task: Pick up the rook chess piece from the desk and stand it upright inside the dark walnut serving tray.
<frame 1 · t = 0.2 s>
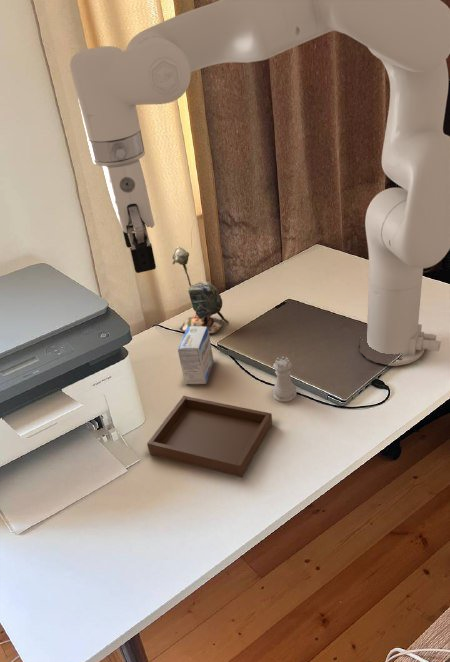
hand: (140, 257, 100), 31 cm above the table, tool pointing down, fingers open, 9 cm apart
medicine box: (199, 373, 127), on the table
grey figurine: (206, 329, 139), on the table
rook chess piece: (284, 396, 118), on the table
tray: (211, 439, 111), on the table
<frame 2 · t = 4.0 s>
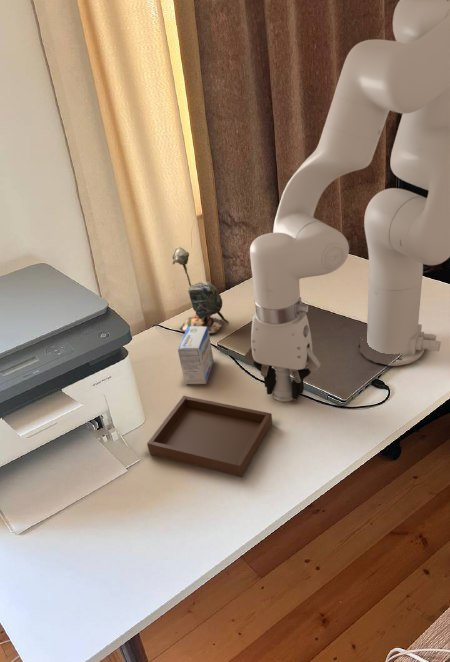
hand: (284, 391, 117), 1 cm above the table, tool pointing down, fingers closed on rook chess piece, 4 cm apart
rook chess piece: (284, 396, 118), on the table, touching gripper
everything else where it was.
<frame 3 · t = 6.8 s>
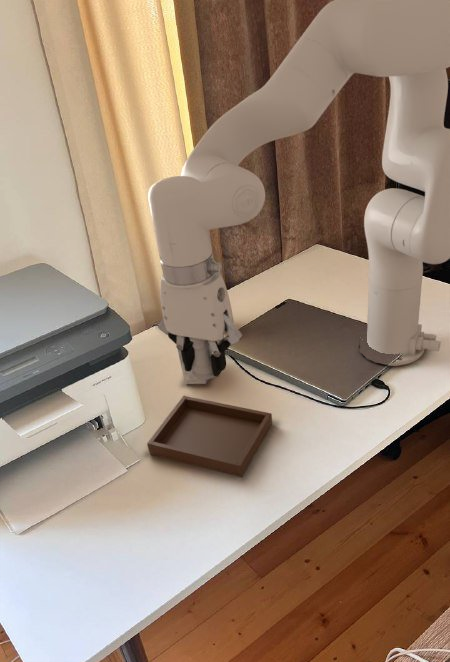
hand: (205, 368, 102), 15 cm above the table, tool pointing down, fingers closed on rook chess piece, 4 cm apart
rook chess piece: (206, 373, 103), point 14 cm above the table, touching gripper
everything else where it was.
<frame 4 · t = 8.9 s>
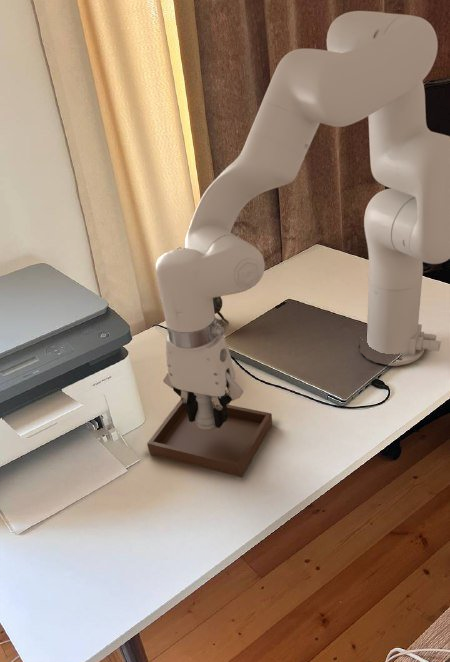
hand: (208, 418, 108), 5 cm above the table, tool pointing down, fingers closed on rook chess piece, 4 cm apart
rook chess piece: (208, 423, 108), point 4 cm above the table, touching gripper
everything else where it was.
when the fingers open (1 cm above the table, at t = 10.1 s): rook chess piece stays where it is, resting on tray.
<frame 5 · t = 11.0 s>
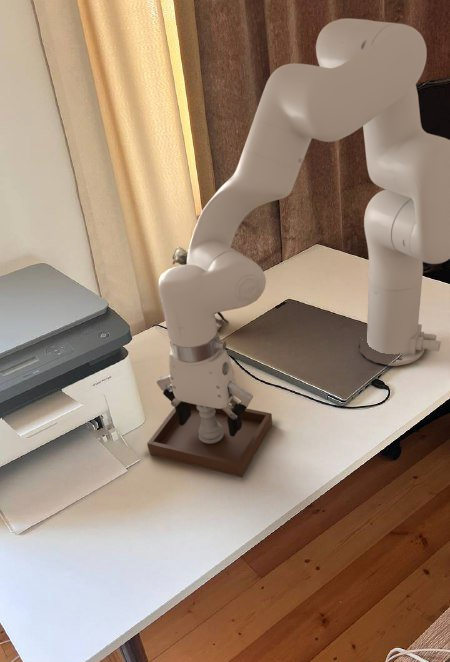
hand: (210, 425, 109), 3 cm above the table, tool pointing down, fingers open, 9 cm apart
rook chess piece: (211, 437, 110), resting on tray
everything else where it was.
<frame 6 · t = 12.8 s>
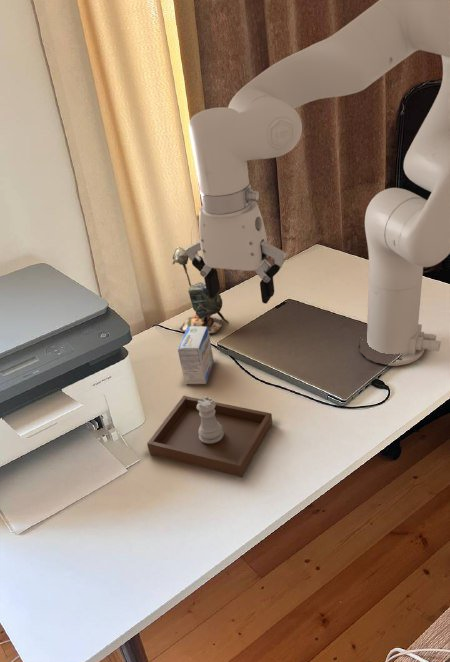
hand: (240, 296, 106), 21 cm above the table, tool pointing down, fingers open, 9 cm apart
nothing on the table moved.
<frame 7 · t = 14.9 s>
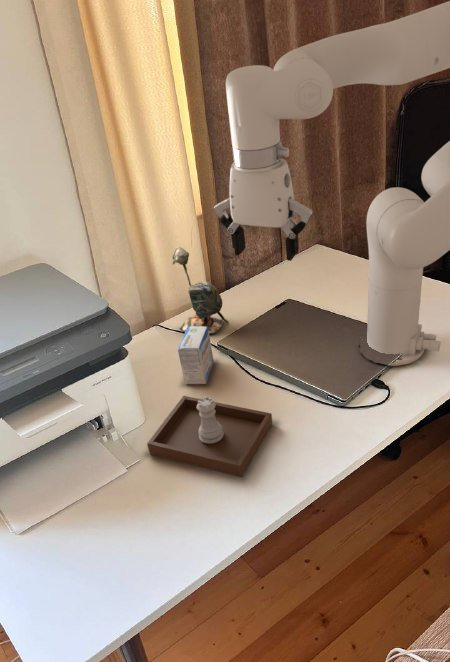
hand: (265, 254, 110), 24 cm above the table, tool pointing down, fingers open, 9 cm apart
nothing on the table moved.
at the end: rook chess piece inside the target area in the tray (0.0 cm from its centre), point 0.4 cm above the tray's base; rook chess piece tilted 0°; the gripper is holding nothing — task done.
